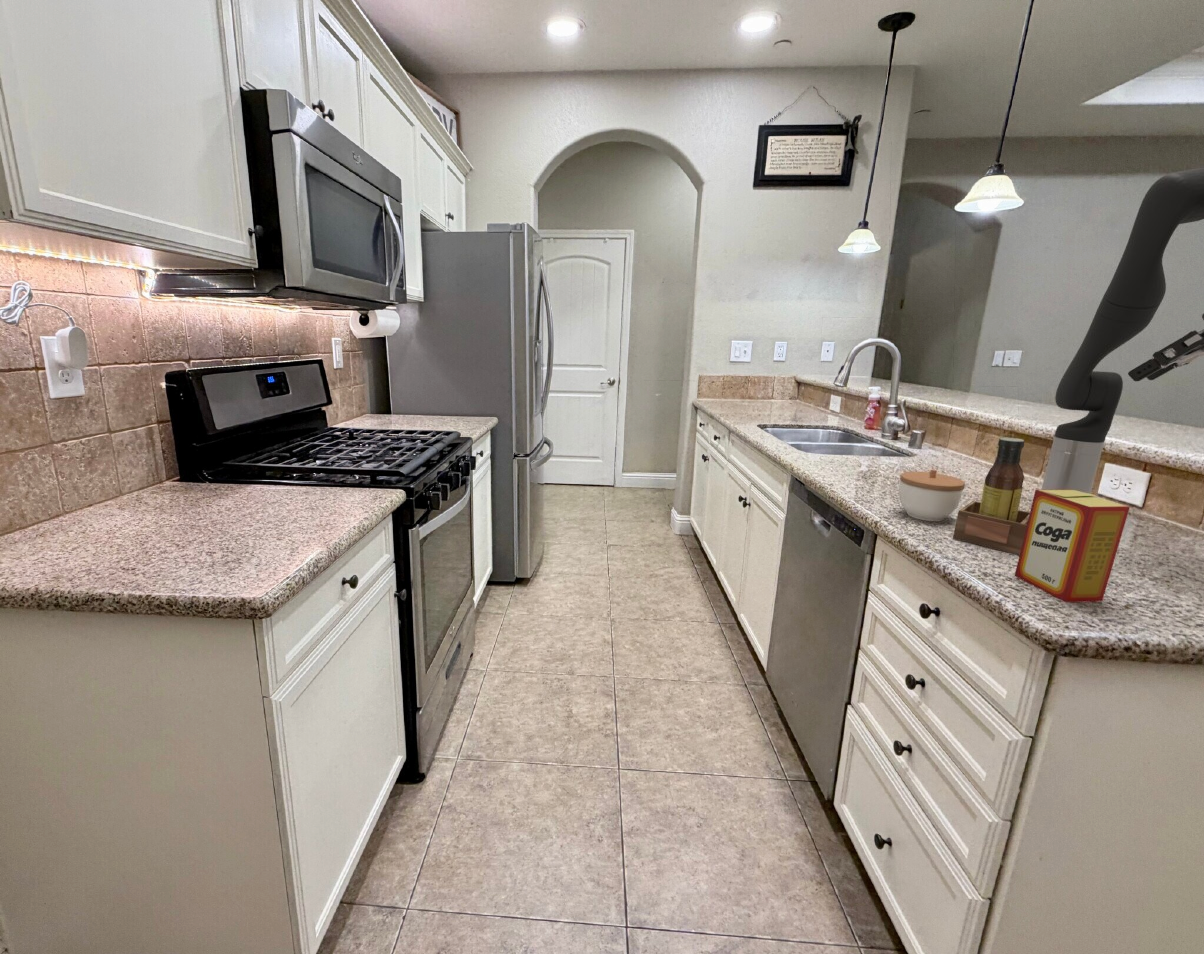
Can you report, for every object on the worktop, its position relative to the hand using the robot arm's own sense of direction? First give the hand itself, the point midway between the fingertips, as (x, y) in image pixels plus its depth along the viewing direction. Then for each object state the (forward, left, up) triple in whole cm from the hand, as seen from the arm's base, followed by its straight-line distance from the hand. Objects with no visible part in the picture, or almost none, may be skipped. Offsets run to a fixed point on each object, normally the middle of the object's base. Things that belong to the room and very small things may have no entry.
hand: (1139, 377), depth 99 cm
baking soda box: (+28, -2, -34) cm, 44 cm away
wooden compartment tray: (+10, -10, -34) cm, 37 cm away
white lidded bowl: (+4, -29, -34) cm, 45 cm away
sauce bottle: (+10, -14, -33) cm, 37 cm away
